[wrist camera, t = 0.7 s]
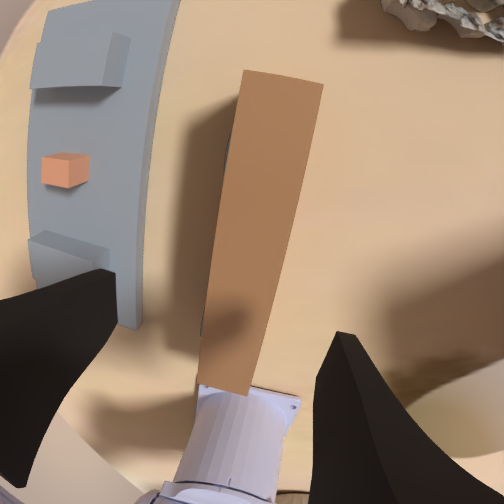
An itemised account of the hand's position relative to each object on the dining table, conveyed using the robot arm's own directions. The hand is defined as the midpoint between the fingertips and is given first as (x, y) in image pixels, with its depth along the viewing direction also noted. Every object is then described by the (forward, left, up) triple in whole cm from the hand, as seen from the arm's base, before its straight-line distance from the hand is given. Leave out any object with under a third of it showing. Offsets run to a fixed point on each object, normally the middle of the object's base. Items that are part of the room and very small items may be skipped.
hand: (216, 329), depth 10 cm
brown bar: (0, 0, -9) cm, 9 cm away
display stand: (+2, +12, -9) cm, 15 cm away
